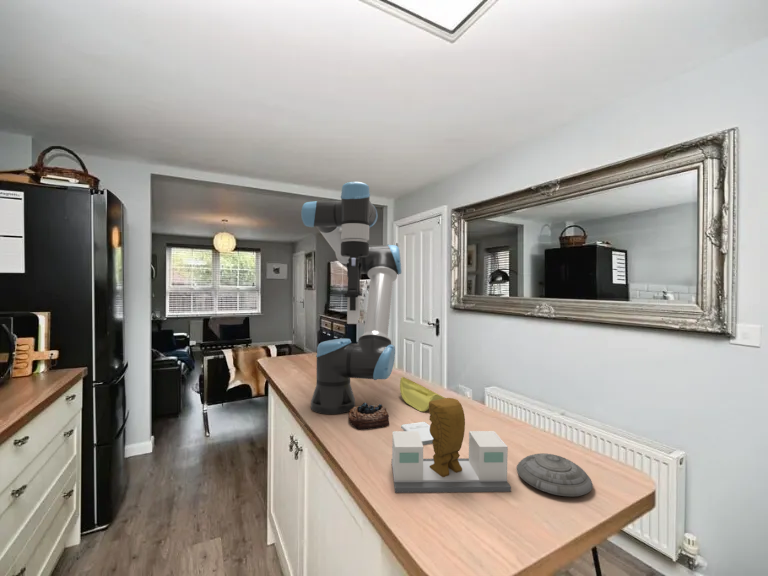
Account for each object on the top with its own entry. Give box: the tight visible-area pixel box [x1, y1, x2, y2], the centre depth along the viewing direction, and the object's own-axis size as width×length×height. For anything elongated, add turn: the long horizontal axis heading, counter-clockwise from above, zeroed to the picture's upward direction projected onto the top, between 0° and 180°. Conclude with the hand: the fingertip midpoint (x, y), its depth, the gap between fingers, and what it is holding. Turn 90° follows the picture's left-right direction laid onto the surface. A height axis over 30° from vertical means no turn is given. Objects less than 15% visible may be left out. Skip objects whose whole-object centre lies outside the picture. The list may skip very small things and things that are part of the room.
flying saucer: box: [516, 452, 594, 497], centre depth 77 cm, size 15×15×6 cm
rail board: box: [391, 430, 512, 494], centre depth 78 cm, size 12×24×8 cm, turn 92°
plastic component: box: [399, 376, 446, 413], centre depth 128 cm, size 20×7×10 cm
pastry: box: [348, 402, 390, 431], centre depth 108 cm, size 11×12×6 cm
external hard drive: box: [400, 421, 433, 446], centre depth 100 cm, size 2×8×12 cm
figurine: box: [428, 397, 466, 477], centre depth 78 cm, size 7×7×15 cm
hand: (353, 321), depth 94 cm, fingers open, 13 cm apart
